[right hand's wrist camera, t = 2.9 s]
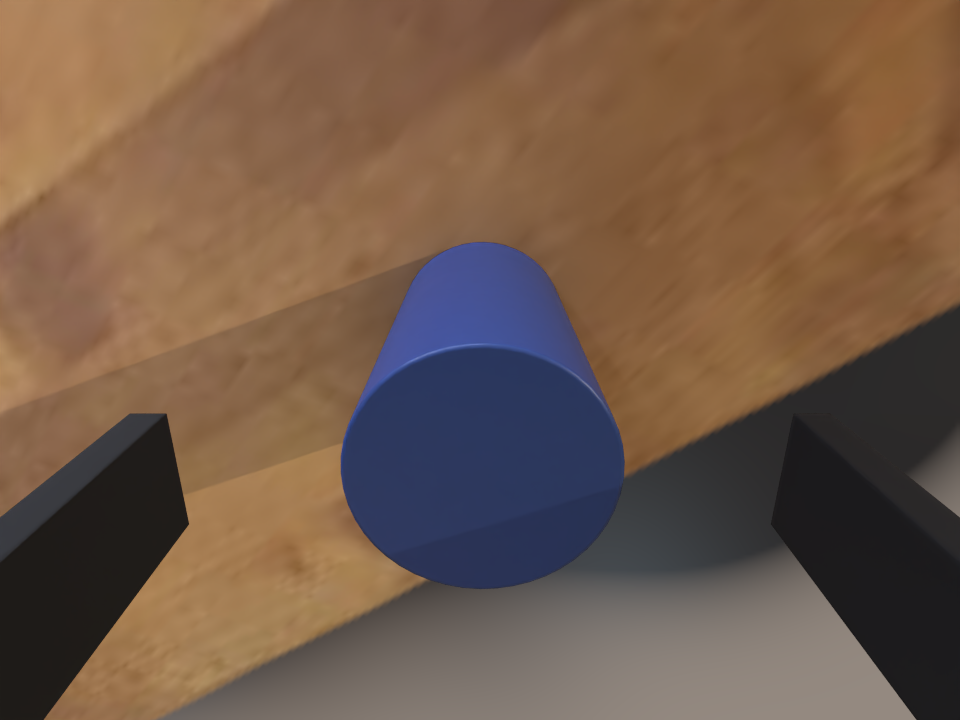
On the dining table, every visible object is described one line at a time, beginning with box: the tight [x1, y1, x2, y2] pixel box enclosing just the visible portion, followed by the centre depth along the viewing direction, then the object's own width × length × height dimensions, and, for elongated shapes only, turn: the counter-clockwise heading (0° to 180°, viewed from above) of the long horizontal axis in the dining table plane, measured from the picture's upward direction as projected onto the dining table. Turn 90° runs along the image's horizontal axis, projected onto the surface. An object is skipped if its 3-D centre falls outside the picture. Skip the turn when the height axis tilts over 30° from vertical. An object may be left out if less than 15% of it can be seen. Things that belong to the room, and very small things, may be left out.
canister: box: [341, 242, 625, 589], centre depth 17 cm, size 6×6×10 cm
